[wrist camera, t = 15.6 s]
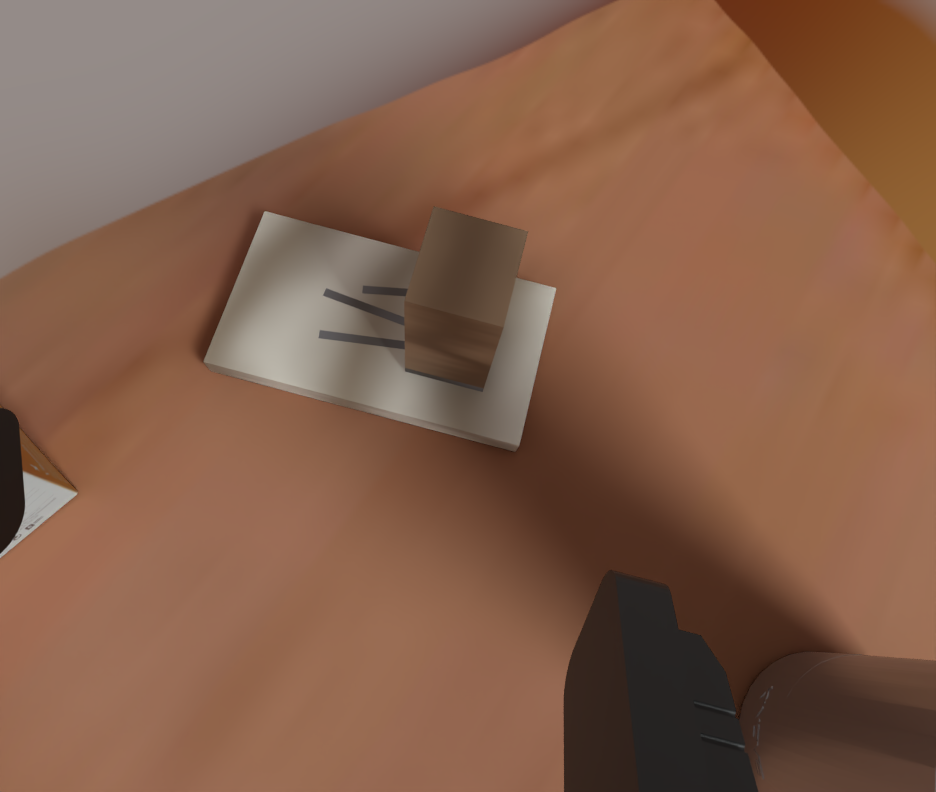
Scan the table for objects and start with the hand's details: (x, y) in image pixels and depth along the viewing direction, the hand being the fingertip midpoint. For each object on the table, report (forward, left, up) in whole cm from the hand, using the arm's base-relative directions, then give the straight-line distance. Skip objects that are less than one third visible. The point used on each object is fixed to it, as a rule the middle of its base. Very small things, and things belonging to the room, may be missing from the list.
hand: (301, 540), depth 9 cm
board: (+4, -15, -28) cm, 32 cm away
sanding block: (0, -15, -27) cm, 31 cm away
